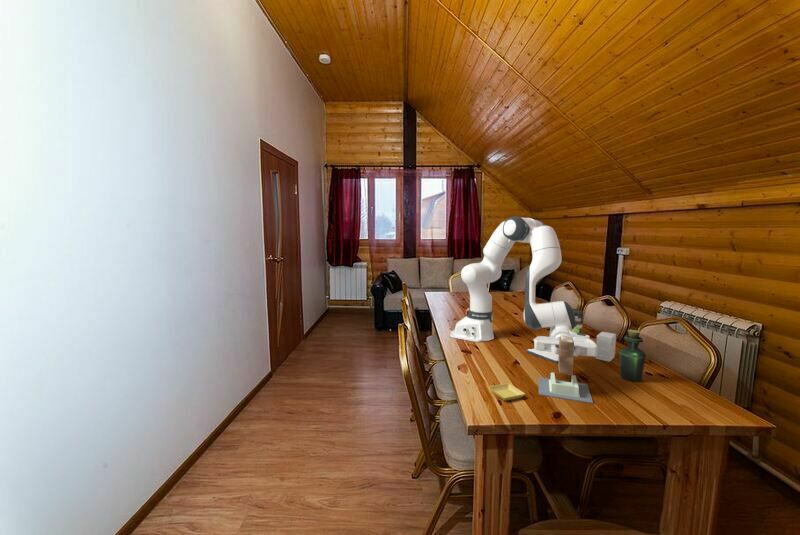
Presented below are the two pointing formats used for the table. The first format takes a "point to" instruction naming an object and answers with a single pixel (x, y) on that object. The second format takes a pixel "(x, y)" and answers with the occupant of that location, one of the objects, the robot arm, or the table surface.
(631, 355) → the potion bottle
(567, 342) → the tall wooden pillar
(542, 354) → the smartphone
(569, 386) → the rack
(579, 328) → the coffee can
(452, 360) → the table surface
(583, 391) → the mat
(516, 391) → the yellow square tray
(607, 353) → the small box
